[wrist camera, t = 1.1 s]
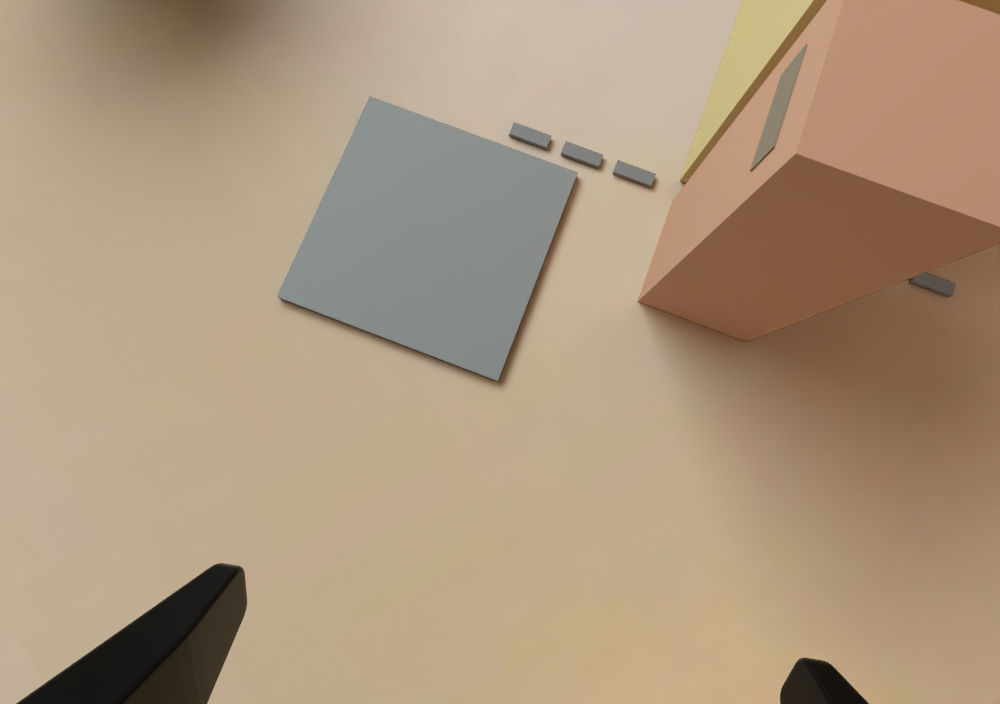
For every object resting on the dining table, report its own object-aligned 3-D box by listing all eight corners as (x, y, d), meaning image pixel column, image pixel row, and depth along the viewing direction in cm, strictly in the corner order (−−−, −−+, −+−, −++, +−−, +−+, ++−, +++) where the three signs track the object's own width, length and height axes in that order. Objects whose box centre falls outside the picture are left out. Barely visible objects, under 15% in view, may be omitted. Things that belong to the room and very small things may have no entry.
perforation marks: (948, 296, 25) (952, 295, 24) (509, 136, 25) (509, 133, 25) (951, 284, 25) (955, 283, 24) (514, 124, 25) (514, 122, 25)
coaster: (497, 381, 23) (497, 380, 23) (279, 298, 24) (276, 296, 23) (576, 175, 25) (577, 172, 25) (371, 100, 25) (369, 96, 25)
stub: (747, 342, 24) (1023, 235, 12) (636, 300, 24) (793, 152, 12) (779, 239, 25) (1069, 38, 12) (671, 200, 25) (853, -37, 13)
